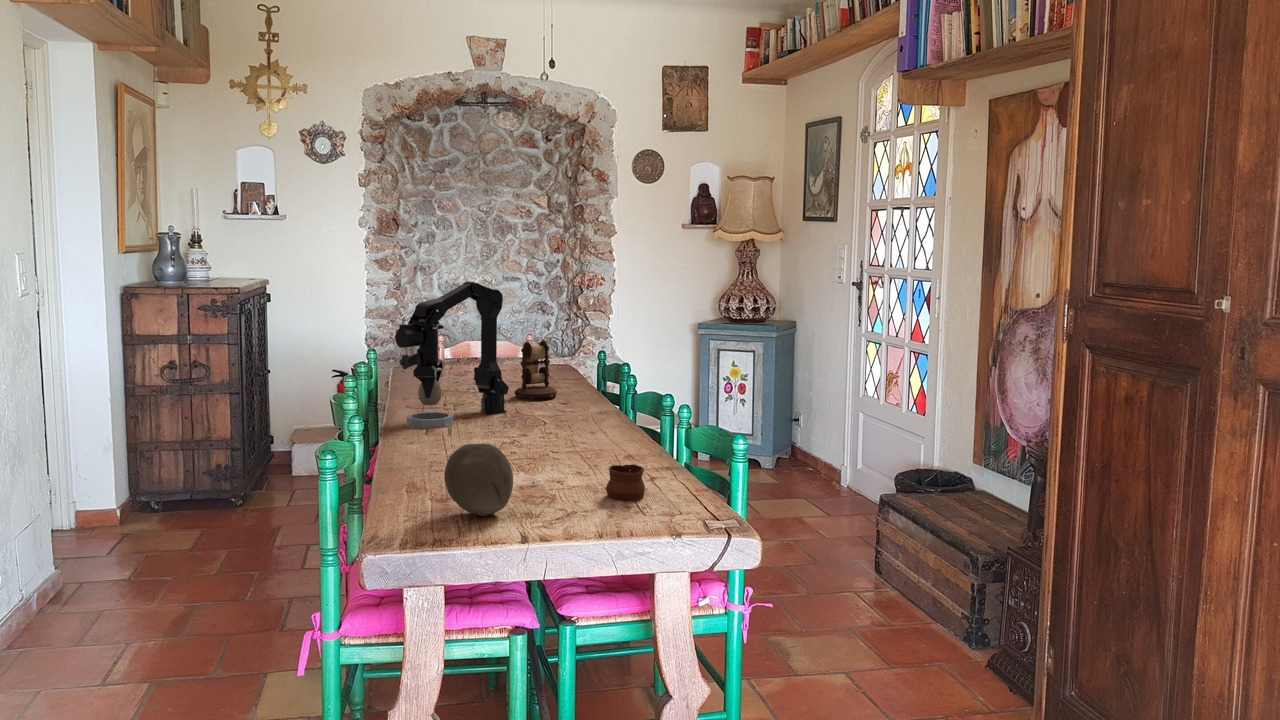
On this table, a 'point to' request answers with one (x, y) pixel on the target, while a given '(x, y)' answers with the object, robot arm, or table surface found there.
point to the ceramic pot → (625, 483)
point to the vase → (434, 396)
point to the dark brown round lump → (479, 478)
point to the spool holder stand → (535, 372)
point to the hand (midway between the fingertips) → (429, 396)
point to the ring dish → (430, 420)
